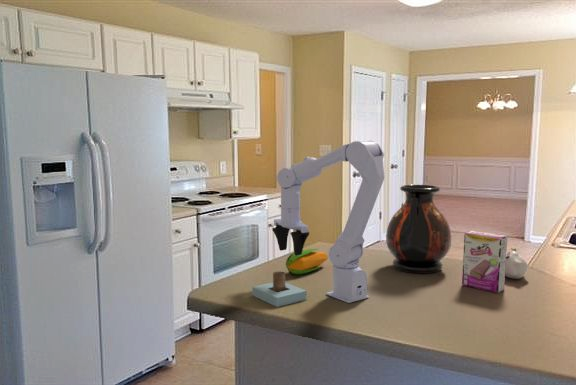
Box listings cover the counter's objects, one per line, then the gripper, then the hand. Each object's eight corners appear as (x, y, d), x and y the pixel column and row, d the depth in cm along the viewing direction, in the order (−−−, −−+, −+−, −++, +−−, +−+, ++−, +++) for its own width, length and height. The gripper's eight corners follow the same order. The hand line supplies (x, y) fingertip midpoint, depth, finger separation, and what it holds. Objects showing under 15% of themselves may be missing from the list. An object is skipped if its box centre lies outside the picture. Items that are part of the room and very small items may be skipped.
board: (306, 299, 140) (306, 290, 140) (277, 307, 134) (277, 297, 134) (280, 288, 150) (280, 280, 150) (252, 295, 144) (252, 286, 144)
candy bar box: (461, 285, 153) (463, 232, 151) (468, 282, 157) (470, 230, 155) (498, 293, 146) (501, 237, 144) (505, 290, 149) (508, 235, 147)
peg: (287, 296, 143) (287, 272, 142) (282, 300, 140) (282, 275, 139) (276, 294, 144) (276, 271, 144) (271, 298, 141) (271, 274, 140)
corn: (279, 251, 164) (318, 241, 178) (278, 274, 165) (317, 262, 180) (297, 257, 159) (335, 246, 173) (295, 280, 160) (333, 267, 175)
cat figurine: (507, 242, 170) (515, 247, 155) (529, 256, 168) (539, 262, 153) (490, 265, 171) (496, 272, 156) (512, 279, 169) (520, 288, 155)
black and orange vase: (394, 257, 187) (396, 182, 184) (454, 264, 178) (458, 184, 175) (377, 272, 168) (379, 188, 165) (444, 280, 159) (448, 191, 155)
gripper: (316, 209, 148) (316, 255, 150) (286, 204, 160) (286, 246, 161) (297, 211, 144) (297, 258, 146) (268, 205, 156) (268, 249, 157)
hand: (290, 252), depth 153 cm, fingers open, 7 cm apart
